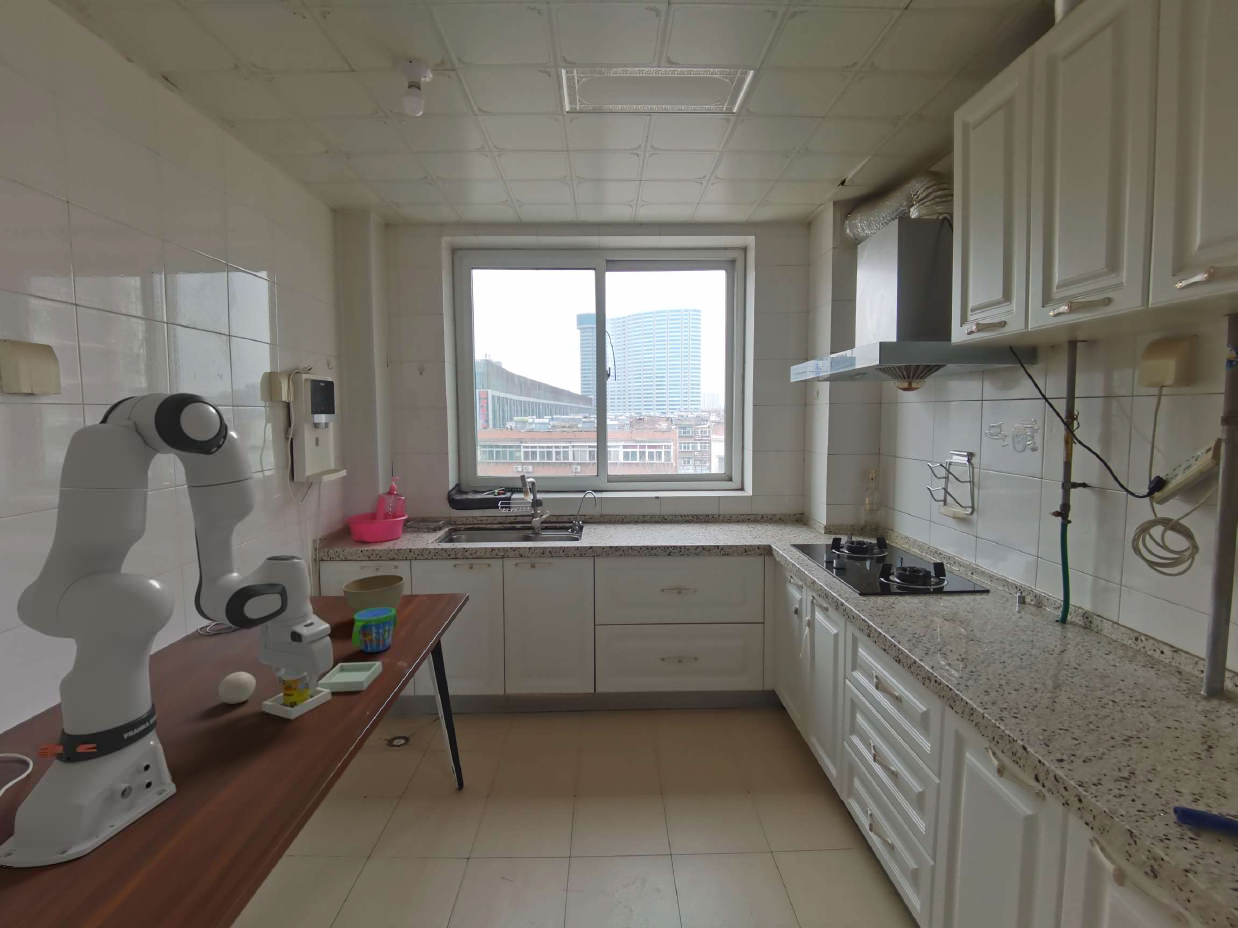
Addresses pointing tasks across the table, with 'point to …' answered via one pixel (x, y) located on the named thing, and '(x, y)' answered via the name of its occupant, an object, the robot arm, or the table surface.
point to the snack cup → (374, 628)
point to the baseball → (236, 687)
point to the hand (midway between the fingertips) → (297, 685)
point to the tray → (351, 676)
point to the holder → (318, 698)
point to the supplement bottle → (294, 687)
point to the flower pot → (374, 592)
